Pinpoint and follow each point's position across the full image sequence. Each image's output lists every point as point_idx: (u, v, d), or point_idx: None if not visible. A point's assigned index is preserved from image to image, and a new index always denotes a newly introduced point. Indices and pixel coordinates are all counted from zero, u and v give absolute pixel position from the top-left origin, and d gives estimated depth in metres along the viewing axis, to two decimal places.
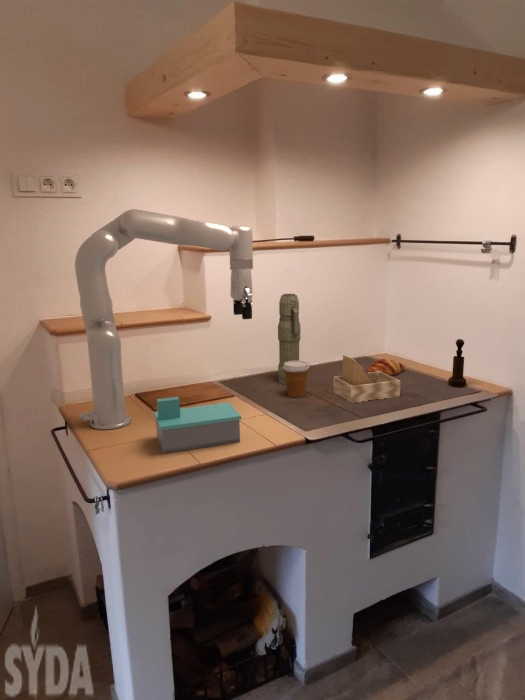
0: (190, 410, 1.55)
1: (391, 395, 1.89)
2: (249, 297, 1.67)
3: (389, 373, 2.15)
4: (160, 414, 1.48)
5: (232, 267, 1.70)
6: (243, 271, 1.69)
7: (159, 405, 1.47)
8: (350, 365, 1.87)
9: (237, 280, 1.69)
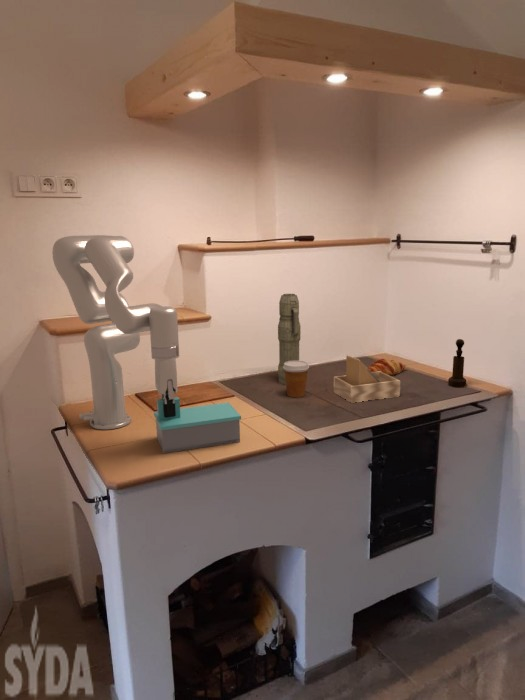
0: (190, 410, 1.55)
1: (391, 395, 1.89)
2: (170, 399, 1.43)
3: (388, 373, 2.15)
4: (160, 414, 1.48)
5: (153, 356, 1.43)
6: (165, 362, 1.42)
7: (159, 405, 1.47)
8: (354, 365, 1.87)
9: (159, 372, 1.42)
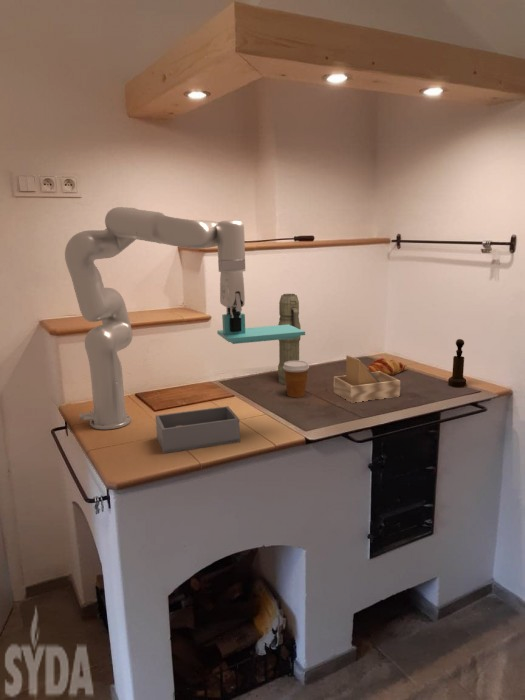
0: (253, 329, 1.57)
1: (391, 395, 1.89)
2: (238, 311, 1.45)
3: (387, 372, 2.16)
4: (226, 329, 1.50)
5: (221, 269, 1.45)
6: (233, 274, 1.44)
7: (225, 319, 1.49)
8: (354, 365, 1.87)
9: (227, 284, 1.44)
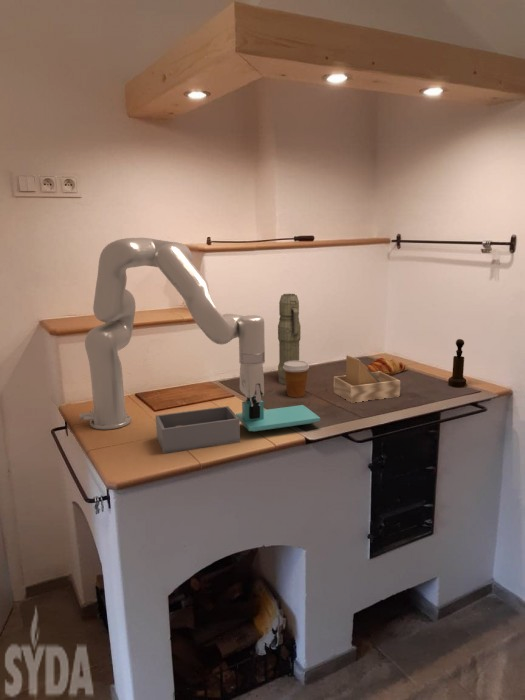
0: (270, 412, 1.66)
1: (391, 395, 1.89)
2: (258, 402, 1.53)
3: (386, 372, 2.16)
4: (246, 416, 1.58)
5: (242, 361, 1.54)
6: (254, 367, 1.52)
7: (245, 407, 1.57)
8: (354, 365, 1.87)
9: (248, 377, 1.52)
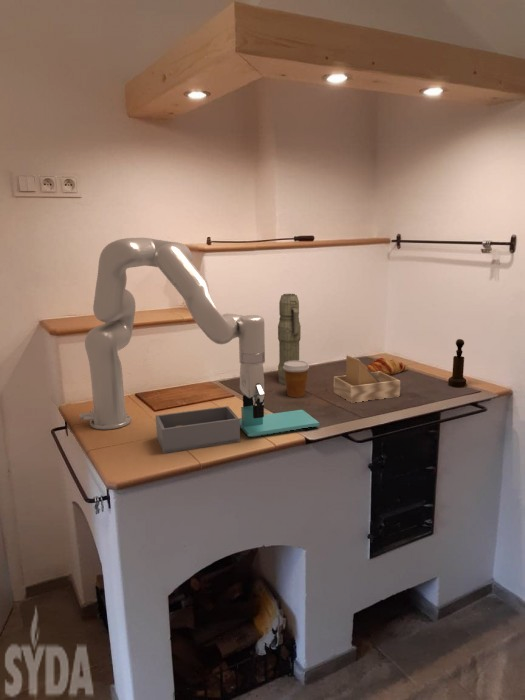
0: (269, 417, 1.66)
1: (391, 395, 1.89)
2: (261, 397, 1.50)
3: (386, 372, 2.16)
4: (245, 421, 1.58)
5: (242, 361, 1.54)
6: (254, 367, 1.52)
7: (244, 413, 1.57)
8: (354, 365, 1.87)
9: (248, 377, 1.52)
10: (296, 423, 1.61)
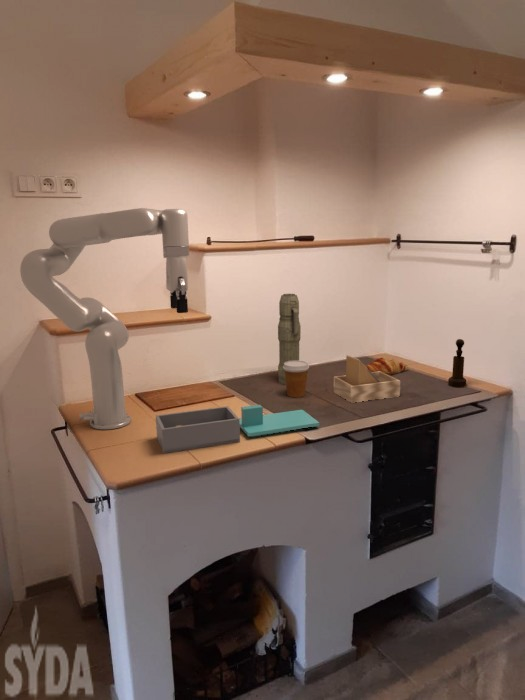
0: (269, 417, 1.66)
1: (391, 395, 1.89)
2: (182, 288, 1.49)
3: (385, 372, 2.17)
4: (245, 421, 1.58)
5: (165, 255, 1.53)
6: (176, 259, 1.51)
7: (244, 413, 1.57)
8: (354, 365, 1.87)
9: (170, 269, 1.51)
10: (296, 423, 1.61)
